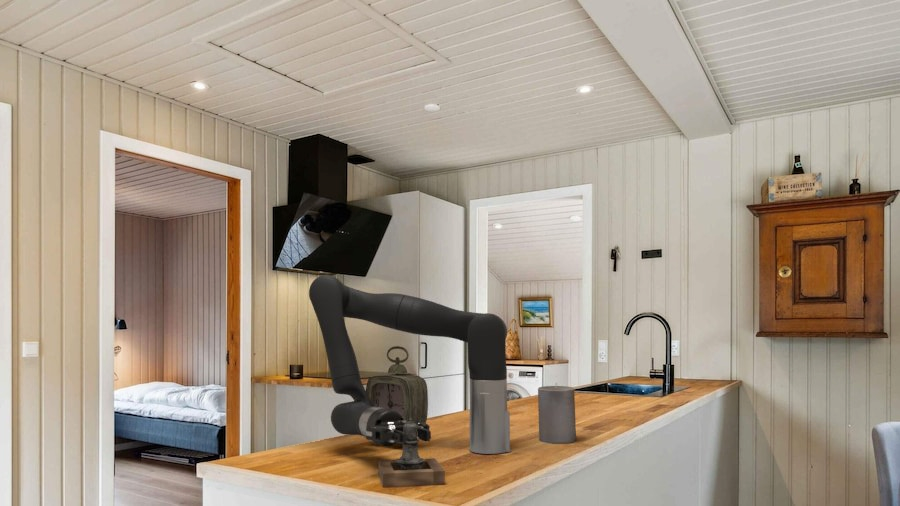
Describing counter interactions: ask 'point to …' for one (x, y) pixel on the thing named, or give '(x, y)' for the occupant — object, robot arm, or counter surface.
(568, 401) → the pillar candle
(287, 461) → the counter surface
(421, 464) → the chess piece
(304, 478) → the counter surface
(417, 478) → the socket block
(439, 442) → the counter surface
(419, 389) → the tabletop clock
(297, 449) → the counter surface
